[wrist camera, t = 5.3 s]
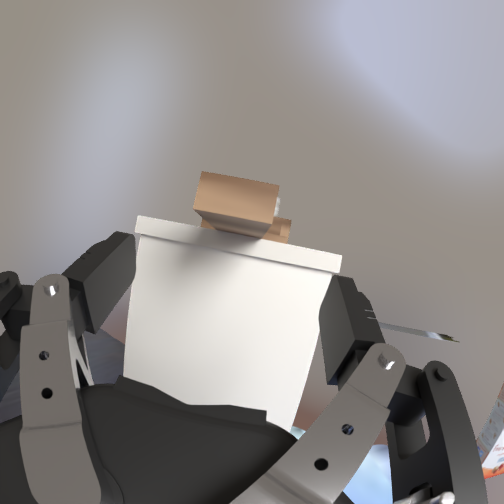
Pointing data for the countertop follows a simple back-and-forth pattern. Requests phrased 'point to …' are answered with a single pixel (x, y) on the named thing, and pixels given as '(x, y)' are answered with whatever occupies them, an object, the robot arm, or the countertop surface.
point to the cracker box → (493, 440)
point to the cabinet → (224, 317)
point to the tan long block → (241, 207)
